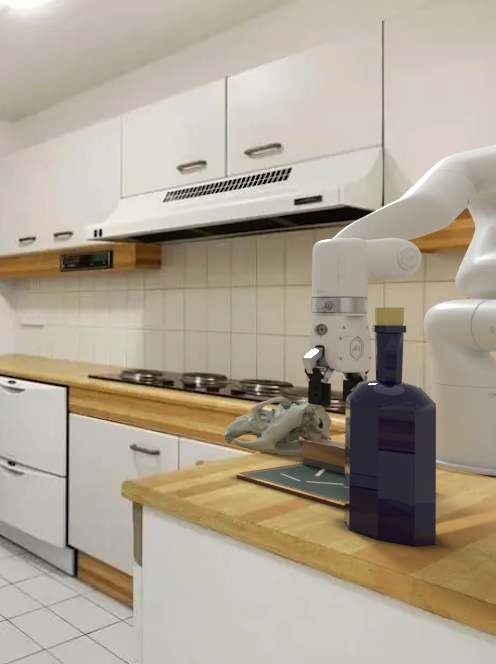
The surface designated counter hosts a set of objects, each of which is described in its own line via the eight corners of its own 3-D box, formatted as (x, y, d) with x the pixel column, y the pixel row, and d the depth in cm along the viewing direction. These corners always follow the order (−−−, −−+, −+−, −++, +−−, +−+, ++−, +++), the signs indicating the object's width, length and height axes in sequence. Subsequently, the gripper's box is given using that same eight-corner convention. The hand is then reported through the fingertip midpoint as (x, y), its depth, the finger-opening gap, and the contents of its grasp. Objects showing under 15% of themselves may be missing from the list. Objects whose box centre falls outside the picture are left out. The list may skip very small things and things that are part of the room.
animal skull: (224, 472, 116) (202, 415, 116) (241, 447, 124) (221, 394, 124) (330, 473, 102) (306, 408, 102) (342, 444, 110) (320, 385, 110)
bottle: (459, 549, 68) (461, 307, 67) (372, 543, 69) (374, 307, 69) (401, 521, 77) (402, 307, 76) (325, 516, 78) (327, 307, 78)
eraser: (317, 462, 103) (318, 438, 103) (377, 475, 94) (377, 449, 94) (302, 464, 101) (302, 439, 101) (361, 478, 93) (361, 451, 93)
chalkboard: (317, 466, 104) (317, 460, 104) (429, 493, 89) (429, 486, 89) (236, 478, 96) (236, 472, 96) (344, 510, 81) (344, 502, 81)
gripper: (332, 307, 91) (330, 409, 91) (394, 309, 97) (392, 405, 97) (283, 307, 98) (281, 402, 98) (344, 308, 104) (342, 398, 104)
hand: (336, 403), depth 98 cm, fingers open, 9 cm apart
